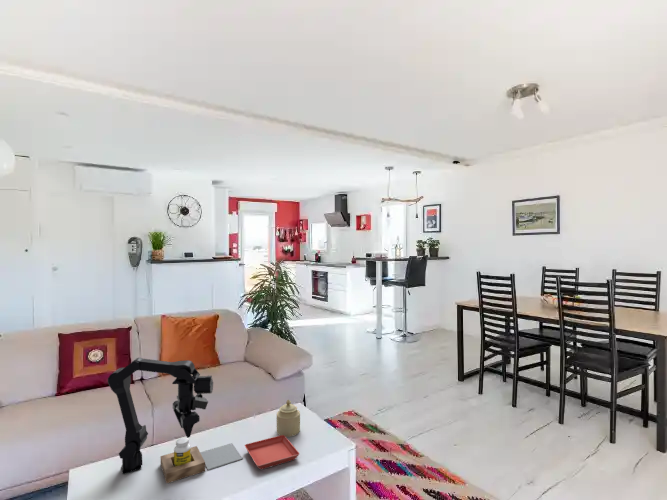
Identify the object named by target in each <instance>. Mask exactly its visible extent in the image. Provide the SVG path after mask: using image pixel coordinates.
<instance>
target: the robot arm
mask: <svg viewBox="0 0 667 500" xmlns="http://www.w3.org/2000/svg"><path fill="white" fill-rule="evenodd" d="M195 366H196V365H195V363H193V361H192V360H186V359H185V360H179V361H178V360H176V361H168V360H167V361H164V360H158V359H157V360H156V359H148V358H143V357H136V358H135V359H134V360H132V361H131V363H129V364H128V365H126V366H125V367H119V368H118V369H116V370H114V371H113V372H112V373H111V374H110V375H109V376H108V377H107V384H108V386H109V387H110V388H109V389H110V390H111V391H112V392H113V393H114V394H115V395H116V397H117V400H118V404H119V405H118V406H119V408H120V413H121V416H122V420H123V423H124V427H125V435H124V446H123V448H122V449H121V450H120V451H119V453H118V456H119V458H120V459H121V471H122V475H125V474H129V473H131V472H132V473H133V472H135V471H139V470H142V465H143V453H142V451H141V447H143V445H144V443H146V441H147V439H148V435H149V432H148V430H147V425H146V424H144V425H142V424H140V423H139V418H138V415H137V412H136V408H135V403H134V400H133V395H132V393H131V383H132V374H134V373H135V372H137V371H142V372H150V373H159V374H167V375H169V376H172V377H174V378H175V379H174V380H173V381H172V385H177V395H176V399H177V400H175V401H173V403H172V409H173V412H174V414H175V417H176V419H177V421H178V424H179V426H180V429H183V431H184V435H185V436H186V437H185V438H188V439H190V438H191V435H192V432H193V428H194V426H195V425H196V424H197V423H199V422H200V421H201V420H200V419H201V418H200V415H199V413H197V411H196V409H202V410H206V409H207V406H208V403H209V400H208V399H207V398H205V397H203V394H204V395H205V394H207V395H208V394H209V395H210V394H212V393H213V392H214V391H213V390H214V381H213V376H212V375H202V376H201V373H199V371H198V370H197V369H196V368H195ZM194 393H195V394H196V395H194Z"/></svg>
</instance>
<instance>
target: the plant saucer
mask: <svg viewBox="0 0 667 500" xmlns="http://www.w3.org/2000/svg"><path fill="white" fill-rule="evenodd" d="M244 447H245V448H246V450H247V452H248V453H249V456H250V457H251V458H252V460H253V462H254V463H255V465H256V468H258V469H259V470H264V469H268V468H271V466H272V467H275V466H277V465H278V464H279V465H281V463H282V464H285V463H288V461H289V462H292V461H294V460H296V459H297V458H298V457H299V455H300V452H299V451H298V449H296V447H295V446H294V445H293V444H292V442H291V441H290V440H289V439H288V437H285V436H284V435H276V436H273V437H268V438H264V439H262V440H257V441H253V442H250V443H246V444H244ZM291 460H292V461H291Z"/></svg>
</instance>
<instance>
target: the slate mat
mask: <svg viewBox="0 0 667 500" xmlns="http://www.w3.org/2000/svg"><path fill="white" fill-rule="evenodd" d="M200 453H201V455H202V457H203V459H204V461H205V469H207V471H211V470H213V469H216V468H219V467H223V466H227V465H229V464H232V463H235V462H239V461H242V460H244V459H243V458H244V457H242V455H241V454H240V452H239V451H238V449H237V448H236V447H235V445H234V443H233V442H232V443H227V444H223V445H221V446H217V447H214V448H210V449H208V450H204V451H200Z"/></svg>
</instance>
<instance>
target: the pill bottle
mask: <svg viewBox="0 0 667 500" xmlns="http://www.w3.org/2000/svg"><path fill="white" fill-rule="evenodd" d="M173 453H174V465H173V466H174V467H176V466H179V465H183V464H186V463H189V462H191V444H190V438H187V437H180V438H178V439H176V441H175V446H174V449H173Z"/></svg>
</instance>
